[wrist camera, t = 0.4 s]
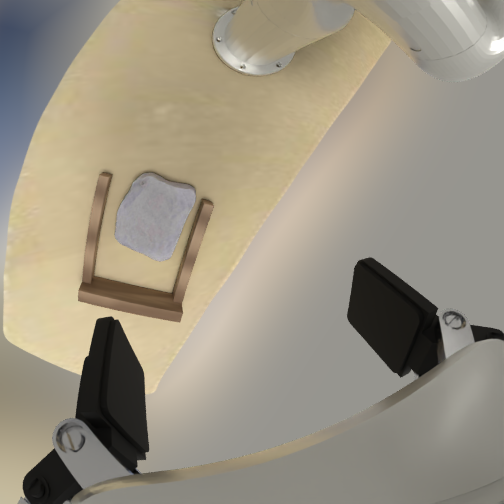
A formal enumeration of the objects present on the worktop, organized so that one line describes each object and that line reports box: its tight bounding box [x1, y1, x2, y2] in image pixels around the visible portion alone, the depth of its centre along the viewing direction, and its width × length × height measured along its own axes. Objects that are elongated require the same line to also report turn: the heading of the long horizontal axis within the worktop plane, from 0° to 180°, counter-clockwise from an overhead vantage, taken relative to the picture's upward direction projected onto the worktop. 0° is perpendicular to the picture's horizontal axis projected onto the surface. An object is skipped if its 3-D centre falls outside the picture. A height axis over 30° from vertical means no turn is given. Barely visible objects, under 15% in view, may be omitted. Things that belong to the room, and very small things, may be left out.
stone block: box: [115, 173, 196, 261], centre depth 37 cm, size 12×5×10 cm
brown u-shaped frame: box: [78, 172, 214, 322], centre depth 37 cm, size 19×17×5 cm
